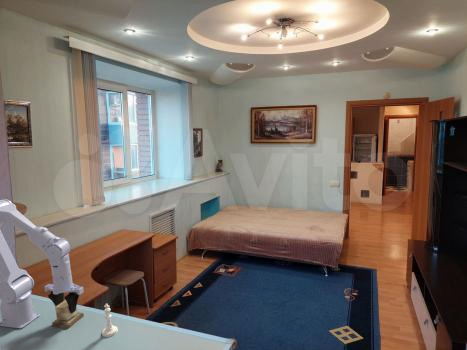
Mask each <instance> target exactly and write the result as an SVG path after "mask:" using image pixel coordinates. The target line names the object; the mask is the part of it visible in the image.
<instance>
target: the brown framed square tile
mask: <svg viewBox="0 0 467 350" xmlns="http://www.w3.org/2000/svg"><path fill="white" fill-rule="evenodd" d="M84 317H85V314H84V312H79V311H77V314H75V315H74V316H73V317H72V318H70V319H69V320H60V319H57V318H56V319H55V320H54V321H52V322H51V325H52V326H53V327H57V328H59V327H60V328H67V329H70V328H72V327H73V326H74V325H75V324H76V323H78V322H79V321H80V320H81V319H82V318H84Z"/></svg>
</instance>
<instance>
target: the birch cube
mask: <svg viewBox="0 0 467 350" xmlns="http://www.w3.org/2000/svg"><path fill="white" fill-rule="evenodd" d="M54 307H55V306H54ZM54 310H55V316H56V319H60V320H69V319H70V318H72V317H73V316H74V315H75V314H77V312H78V310H77V307H76V311H75V312H73V313H72V314H71V313H70V311H69V307H68V303H67V301H66V300H65V299H64V301H63V302H62V303H60V304H59V305H58V306H56V307H55V309H54Z"/></svg>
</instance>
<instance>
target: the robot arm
mask: <svg viewBox="0 0 467 350" xmlns="http://www.w3.org/2000/svg"><path fill="white" fill-rule="evenodd" d="M3 223H9V224H10V225H12V226H13V227H15V228H17V229H18V230H20V231H21V232H23V233H25V234H26V235H28V240H29V241H30V242H31V243H32V244H34V245H35V246H36V247H38V248H39V249H41V250H42V251H43V252H44V257H45V258H46V259H47V260H48V262H49V263H48V264H49V265H50V269H51V276H52V282H53V283H47V284H46V285H45V286H44V293H45V292H46V293H47V292H50V293H49V294H48V295H47V298H48V299H50V301H51V302H52V303H53V305H54V307H56V306H58V305H59V304H60V303H62V302H63V301H65V300H66V301H67V303H68V307H69V311H70V313H71V314H72V313H73V312H75V311H76V308H77V305H78V300H79V297H80V295H82V294H83V293H84V292H85V290H84V289H85V288H84V286H80V285H78V284H75V283H74V282H73V276H72V269H71V262H70V260H71V259H70V252H71V251H72V245H71V242H70V241H69V239H67V238H65V237H58V236H57V235H55V234H53V233H52V232H51V231H50V230H49V228H47V227H44V226H37V225H35V224H34V223H33V222H31V220H30V219H28V218H27V217H26V216H25V215H24V214H22V213H21V212H20V211H19V210H18V209H17V206H16V204H15V203H12V202H11V200H9V199H7V198H1V199H0V228H1V227H2V225H3ZM34 287H35V281H34V278H33V277H32V276H31V275H30V274H29V273H28V271H27V270H26V269H22V268H20V267H19V266H18V264H17V262H16V259H15V258H14V255H13V253H12V251H11V249H10V247H9V245H8V242H7V241H6V239H5V236H4V234H3V232H2V230H1V229H0V300H1V303H0V316H1V322H2V323H1V324H0V326H1V327H7V328H12V329H13V328H14V329H23V328H25V327H26V326H27V325H29V324H30V323H32V322H33V321H35V320H37V319H38V318H39V317H40V316H41V314H40V313H34V307H33V301H32V292H33V291H32V289H33V288H34ZM66 293H67V295H65V294H66Z"/></svg>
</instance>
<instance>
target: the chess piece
mask: <svg viewBox="0 0 467 350" xmlns="http://www.w3.org/2000/svg"><path fill="white" fill-rule="evenodd" d="M110 306H111V305H109V304H108V303H105V305H104V306H103V307H104V308H105V309H103V312H104V314H105V316H104V319H105V320H106V327H105V328H104V329H103V330H102V331H101V335H102V337H105V338H109V337H112V336H114V335H117V333H118V331H119V329H118V326H116V325H113V324H112V320H111V318H112V316H113V315H112V314H111V308H110Z"/></svg>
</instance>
